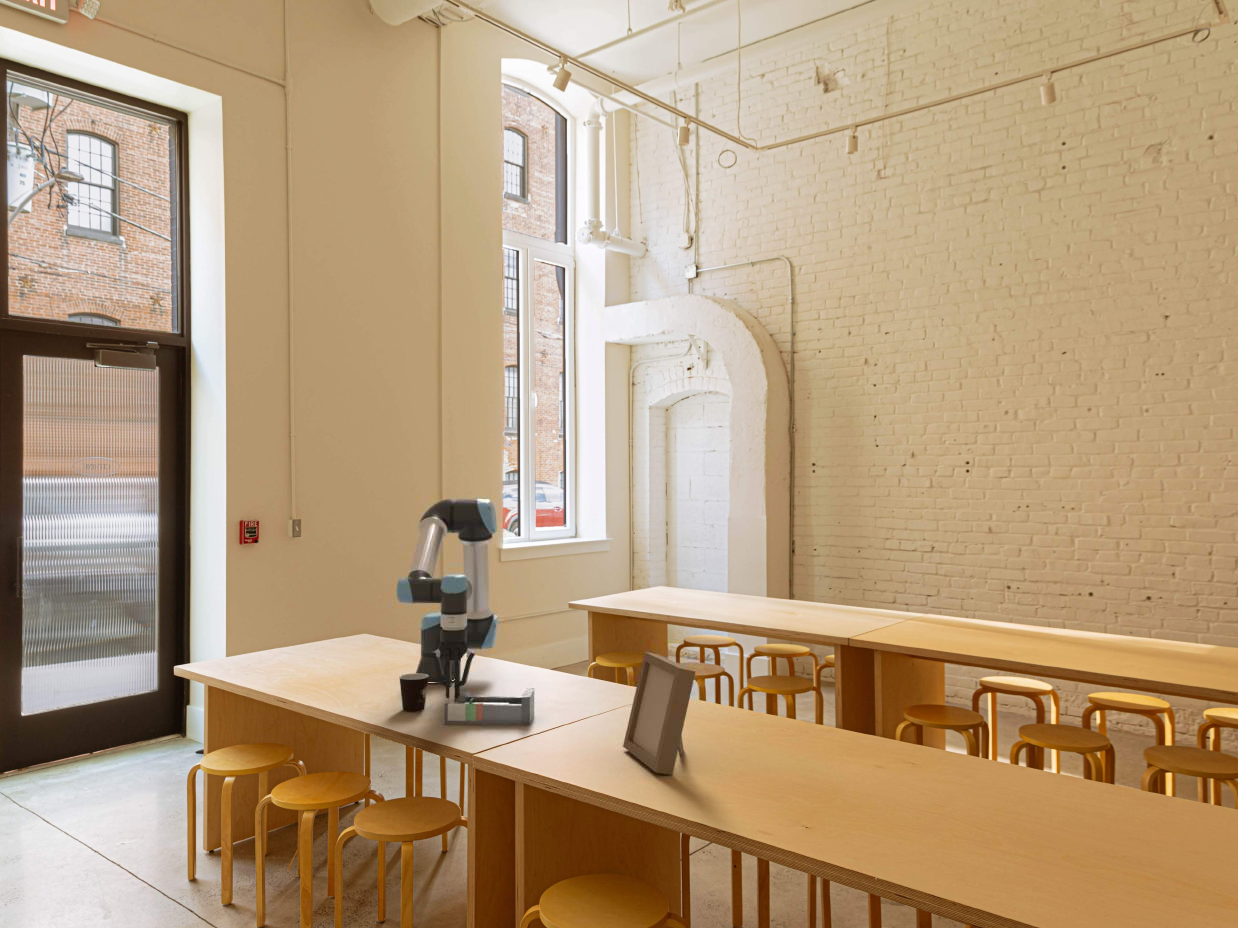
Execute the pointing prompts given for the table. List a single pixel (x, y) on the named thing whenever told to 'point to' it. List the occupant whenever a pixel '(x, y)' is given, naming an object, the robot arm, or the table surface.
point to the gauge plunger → (465, 698)
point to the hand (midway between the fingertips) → (452, 709)
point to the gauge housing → (492, 710)
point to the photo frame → (659, 712)
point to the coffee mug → (413, 691)
